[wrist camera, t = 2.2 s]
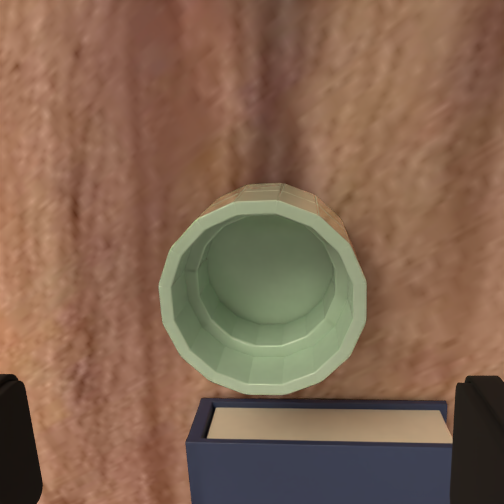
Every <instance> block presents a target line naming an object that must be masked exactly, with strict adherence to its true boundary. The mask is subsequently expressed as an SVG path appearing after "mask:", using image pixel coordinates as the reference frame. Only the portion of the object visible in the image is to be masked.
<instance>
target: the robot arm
mask: <svg viewBox="0 0 504 504" xmlns="http://www.w3.org/2000/svg"><path fill="white" fill-rule="evenodd" d="M42 487H43V483H42V477H41V471H40V466H39V460H38V455H37V449H36V444H35V439H34V433H33V428H32V422H31V417H30V411H29V406H28V400H27V395H26V389H25V386H24V384H23V382H21V381H18V378H17V377H16V376H15V375H13V374H0V504H37V502H38V501H39V499H40V496H41V493H42ZM450 504H504V382H503V381H502V380H501V378H500V377H498V376H467V377H466V380H465V383H458V384H457V386H456V392H455V410H454V427H453V444H452V461H451V478H450Z"/></svg>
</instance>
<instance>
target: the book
mask: <svg viewBox="0 0 504 504" xmlns="http://www.w3.org/2000/svg"><path fill="white" fill-rule="evenodd" d="M446 420H447V403H446V401H408V400H314V399H220V398H201V401H200V404H199V407H198V410H197V413H196V415H195V418H194V421H193V424H192V427H191V429H190V432H189V435H188V438H187V440H186V442H185V443H186V453H187V462H188V472H189V482H190V491H191V501H192V504H450V478H451V461H452V444H453V438H452V436H451V434H450V432H449V430H448V428H447V425H446Z"/></svg>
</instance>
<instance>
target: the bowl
mask: <svg viewBox="0 0 504 504" xmlns="http://www.w3.org/2000/svg"><path fill="white" fill-rule="evenodd" d="M158 288H159V297H160V306H161V315H162V322H163V325H164V327H165V329H166V331H167V332H168V334H169V336H170V338H171V340H172V342H173V343H174V345H175V347H176V349H177V351H178V353H179V354H180V356H181V357H182V358H183V359H184V360H185V361H187V362H188V363H189V364H190V365H191V366H192V367H194V368H195V369H196V370H197V371H198V372H200V373H201V374H202V375H203V376H204V377H205V378H207V379H208V380H209V381H210V380H211V382H213V383H216V384H218V385H221V386H224V387H227V388H229V389H232V390H235V391H237V392H240V393H243V394H247V395H287V394H290V393H293V392H295V391H298V390H301V389H304V388H306V387H309V386H312V385H315V384H318V383H320V382H321V381H323V380H324V379H325V378H327V377H328V376H329V375H330V374H331V373H332V372H333V371H334V370H336V369H337V368H338V367H339V366H340V365H341V364H342V363H343V362H345V361H346V360H347V359H348V358H349V356H350V355H351V354H352V352H353V349H354V347H355V345H356V343H357V341H358V339H359V337H360V334H361V332H362V330H363V328H364V326H365V324H366V320H367V282H366V278H365V276H364V273H363V270H362V268H361V265H360V263H359V260H358V257H357V255H356V252H355V249H354V247H353V245H352V242H351V240H350V238H349V236H348V233H347V231H346V229H345V226H344V224H343V222H342V220H341V219H340V217H339V216H338V215H337V214H336V213H335V212H334V211H332V210H331V209H330V208H329V207H328V206H327V205H326V204H325V203H324V202H323V201H322V200H321V199H320V198H319V197H317V196H315V195H314V194H312V193H309V192H306V191H304V190H301V189H298V188H295V187H293V186H290V185H287V184H282V183H266V184H249V185H245V186H243V187H241V188H239V189H237V190H234V191H232V192H230V193H228V194H226V195H224V196H222V197H219V198H218V199H217V200H215V201H214V202H213V203H212V204H211V205H210V206H209V207H208V208H207V209H206V210H205V211H204V212H203V213H202V214H201V215H200V216H199V217H198V218H197V219H196V220H195V221H194V222H193V223H192V224H191V225H190V226H189V228H188V229H187V230H186V231H185V232H184V233H183V234H182V235H181V237H180V238H179V239H178V240H177V241H176V242H175V243H174V244H173V246H172V247H171V248H170V250H169V253H168V256H167V259H166V262H165V265H164V268H163V272H162V275H161V278H160V281H159V287H158Z"/></svg>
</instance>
